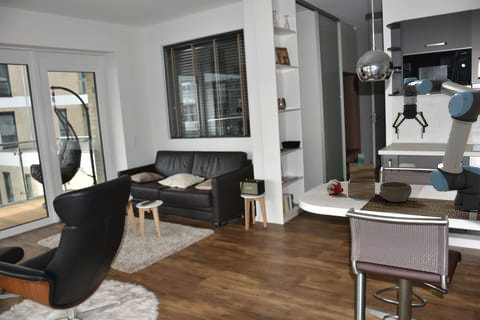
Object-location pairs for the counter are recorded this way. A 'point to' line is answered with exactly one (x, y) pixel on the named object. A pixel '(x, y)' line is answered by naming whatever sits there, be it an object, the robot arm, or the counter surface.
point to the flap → (361, 169)
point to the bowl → (395, 191)
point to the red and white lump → (334, 187)
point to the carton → (361, 188)
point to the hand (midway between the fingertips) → (409, 138)
